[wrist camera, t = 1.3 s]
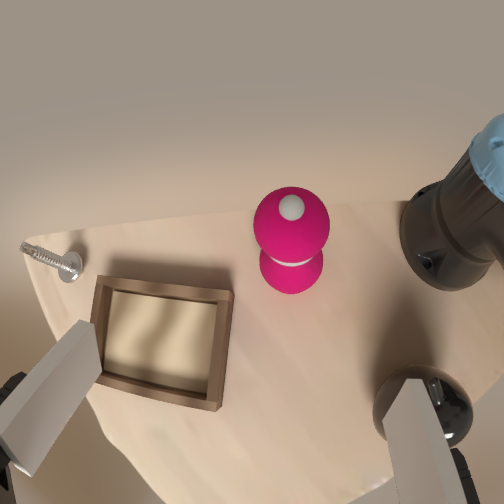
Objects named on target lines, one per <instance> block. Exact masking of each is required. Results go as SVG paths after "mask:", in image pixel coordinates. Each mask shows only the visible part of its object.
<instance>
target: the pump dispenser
mask: <svg viewBox="0 0 504 504" xmlns="http://www.w3.org/2000/svg"><path fill="white" fill-rule="evenodd" d="M406 379H422V381H423V383H424V386H425V388H426V390H427V393H428V395H429V397H430V400H431V402H432V405H433V407H434V409H435V412H436V414H437V417H438V419H439V422H440V425H441V427H442V430H443V432H444V435H445V438H446V440H447V443H448V446H449V449H450V448H452V447H453V446H455V445H457V444H458V443H459V442H461V441H462V440H463V439H464V438H465V437H466V435H467V434H468V432H469V430H470V428H471V426H472V422H473V406H472V402H471V400H470V398H469V396H468V394H467V392H466V391H465V390H464V388H463V387H462V386H461V385H460V384H459V383H458V382H457V381H456V380H455V379H454V378H453V377H451V376H450V375H449V374H447V373H446V372H444V371H442V370H440V369H438V368H436V367H434V366H430V365H426V364H413V365H409V366H406V367H403V368H401V369H399V370H397V371H396V372H394V373H393V374H392V375H391V376H390V377H389V378H388V379H387V380H386V381H385V382H384V383H383V384H382V386H381V387H380V389H379V391H378V393H377V395H376V398H375V401H374V405H373V422H374V425H375V428H376V430H377V432H378V433H379V434H380V436H381V437H382V438H383V439H384V440H386V441H387V439H386V435H385V431H384V426H383V422H382V420H383V418H384V417H385V415H386V414H387V412H388V410H389V409H390V407H391V405H392V404H393V402H394V400H395V399H396V397H397V395H398V394H399V392H400V390H401V388H402V386H403V385H404V383H405V381H406Z"/></svg>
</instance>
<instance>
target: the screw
mask: <svg viewBox="0 0 504 504" xmlns="http://www.w3.org/2000/svg"><path fill="white" fill-rule="evenodd" d="M20 251H21V252H23V253H26V254H28V255H30V257H31V258H33V259H35V260H37V261H39V262H42V263H45V264H47V265H50V266H52V267H55V268H57V269H58V273H59V277H60V278H61V280H62V281H63V282H66V283H72V282H74V281H75V280H77V279H78V277H79V276H80V275H81V274H82V273H83V264H82V259H81V257H80V255H79V254H78V253H76V252H74V251H70V252H67V253H66V254H64V255H63V257H61V256H59V255H57V254H54V253H52V252H50V251H48V250H46V249H44V248H41V247H38V246H32V245H30V244H28V243H26V242H23V243H22V244H21V246H20Z"/></svg>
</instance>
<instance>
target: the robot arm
mask: <svg viewBox="0 0 504 504" xmlns="http://www.w3.org/2000/svg"><path fill="white" fill-rule="evenodd" d="M400 239H401V245H402V248H403V251H404V254H405V257H406V259H407V261H408V263H409V264H410V266H411V267H412V269H413V270H414V272H415V273H416V274H417V275H418V276H419V277H420V278H421V279H422V280H423V281H425V282H426V283H427V284H429V285H431V286H432V287H435V288H437V289H440V290H444V291H458V290H461V289H464V288H467V287H469V286H472V285H473V284H475V283H476V282H478V281H479V280H480V279H481V278H482V277H483V276H484V275H485V274H486V272H487V270H488V269H489V267H490V266H491V265H492V264H493V262H494V261H495V260H496V259H497V260H498V261H499V263H500V264H501V266H502V268H503V269H504V114H500V115H498V116H496V117H494V118H493V119H492V120H491V121H490V122H489V123H488V124H487V125H486V127H485V128H484V129H483V130H482V131H481V132H480V133H478V134H477V135H476V136H475V137H474V138H473V139H472V141H471V144H470V146H469V148H468V149H467V151H466V152H465V154H464V155H463V156H462V157H461V159H460V160H459V161H458V163H457V164H456V165H455V167H454V168H453V169H452V170H451V171H450V173H449V174H448V175H447V176H446V178H445V179H444V180H441V181H439V182H436V183H433V184H431V185H428V186H426V187H424V188H422V189H421V190H419V191H418V192H417V193H416V194H415V195H414V196H413V198H412V199H411V200H410V201H409V203H408V204H407V206H406V207H405V209H404V211H403V214H402V217H401V222H400ZM101 372H102V368H101V363H100V357H99V352H98V346H97V340H96V334H95V328H94V324H92V323H89V322H86V321H83V320H79V321H78V322H77V323H76V324H75V325H74V326H73V327H72V328H71V329H70V330H69V331H68V332H67V333H66V334H65V335H64V336H63V337H62V338H61V339H60V340H59V341H58V342H57V343H56V345H54V347H53V348H52V349H51V350H50V351H49V352H48V353H47V354H46V355H45V356H44V357H43V358H42V359H41V360H40V361H39V362H38V364H37V365H36V366H35V367H34V368H33V369H32V370H31V371H30V372H29V374H28V375H27V374H25V373H23V372H20V373H18V374H16V375H14V376H12V377H11V378H10V379H9V380H8V381H7V382H6V383H5V384H4V385H3V388H1V389H0V504H16V500H15V495H14V490H13V485H12V479H11V473H10V469H9V466H8V463H9V462H10V460H11V461H12V462H13V463H14V465H15V466H16V467H17V468H18V469H19V470H21V471H23V472H24V473H26V474H27V475H29V476H31V477H33V475H34V473H35V472H36V470H37V469H38V467H39V465H40V464H41V462H42V460H43V459H44V457H45V456H46V454H47V453H48V451H49V450H50V448H51V446H52V445H53V443H54V442H55V440H56V439H57V437H58V436H59V434H60V433H61V431H62V429H63V428H64V427H65V425H66V423H67V422H68V420H69V419H70V417H71V416H72V415H73V413H74V412H75V410H76V408H77V407H78V406H79V404H80V403H81V401H82V400H83V398H84V397H85V395H86V394H87V392H88V391H89V390H90V388H91V387H92V385H93V384H94V382H95V381H96V380H97V378H98V377H99V375H100V374H101ZM382 422H383V426H384V431H385V435H386V439H387V444H388V448H389V453H390V457H391V462H392V467H393V472H394V477H395V482H396V487H397V492H398V498H399V504H480V502H479V498H478V496H477V492H476V489H475V486H474V483H473V480H472V478H471V475H470V471H469V470H468V466H467V463H466V460H465V458H464V456H463V455H462V454H461V452H460V451H459V450H458V449H457V448H453V449H449V446H448V443H447V440H446V438H445V435H444V432H443V430H442V427H441V425H440V422H439V419H438V417H437V414H436V412H435V409H434V407H433V405H432V402H431V400H430V397H429V395H428V393H427V390H426V388H425V386H424V383H423V381H422V379H406V381H405V383H404V385H403V386H402V388H401V390H400V392H399V394H398V395H397V397H396V399H395V400H394V402H393V404H392V405H391V407H390V409H389V410H388V412H387V414H386V415H385V417H384V418H383V420H382Z"/></svg>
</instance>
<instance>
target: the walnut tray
mask: <svg viewBox="0 0 504 504" xmlns="http://www.w3.org/2000/svg"><path fill="white" fill-rule="evenodd" d="M233 303H234V294H233V293H232V292H231V291H230V290H221V289H211V288H201V287H192V286H183V285H174V284H165V283H157V282H148V281H140V280H132V279H125V278H117V277H110V276H102V275H98V276H97V281H96V287H95V292H94V299H93V305H92V312H91V319H90V323H92V324H94V328H95V334H96V340H97V346H98V352H99V357H100V363H101V368H102V372H101V374H100V375H99V377H98V378H97V380H96V381H95V383H98V384H101V385H104V386H108V387H111V388H114V389H118V390H121V391H125V392H128V393H132V394H135V395H139V396H143V397H147V398H151V399H155V400H159V401H163V402H168V403H172V404H177V405H181V406H186V407H191V408H196V409H201V410H207V411H213V412H216V411H217V410H218V409H219V408H220V407H222V400H223V391H224V382H225V373H226V364H227V355H228V346H229V337H230V329H231V320H232V312H233Z"/></svg>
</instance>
